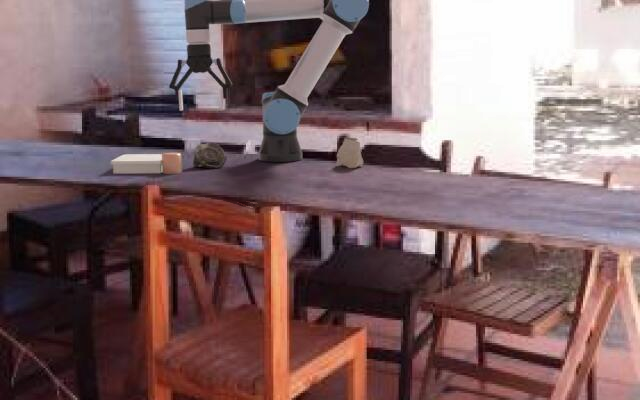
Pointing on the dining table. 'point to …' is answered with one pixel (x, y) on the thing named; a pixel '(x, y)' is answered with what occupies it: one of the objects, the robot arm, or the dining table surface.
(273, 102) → the robot arm
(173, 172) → the peach rounded glossy part
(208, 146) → the fossil
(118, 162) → the stand
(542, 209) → the dining table surface
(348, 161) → the beige rough lump
